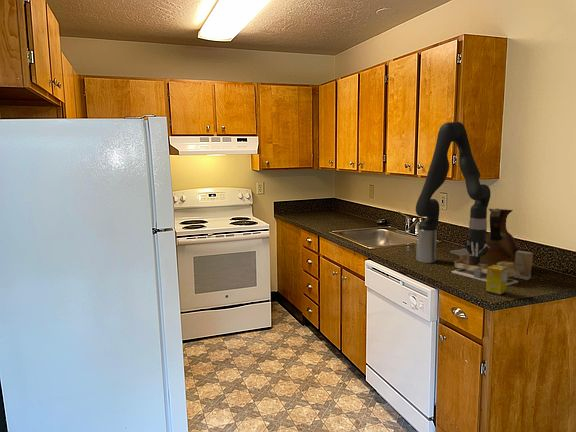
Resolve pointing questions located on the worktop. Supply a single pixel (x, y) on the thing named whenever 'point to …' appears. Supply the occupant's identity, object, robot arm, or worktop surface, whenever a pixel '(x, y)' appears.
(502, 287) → the supplement box
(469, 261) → the block
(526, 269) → the skincare box
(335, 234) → the worktop surface
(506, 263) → the beam
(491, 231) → the ceramic pitcher
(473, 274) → the stand
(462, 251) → the soap mold
